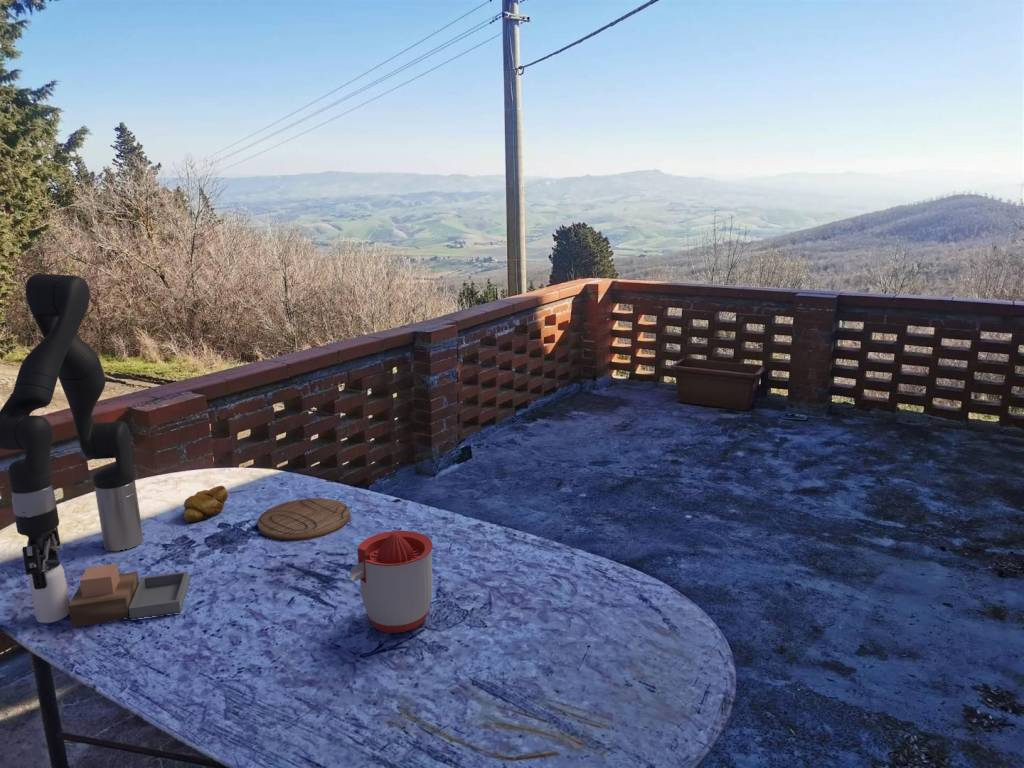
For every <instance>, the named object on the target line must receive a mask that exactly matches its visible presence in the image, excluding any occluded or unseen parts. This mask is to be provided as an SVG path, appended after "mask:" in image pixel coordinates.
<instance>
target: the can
mask: <svg viewBox="0 0 1024 768" xmlns="http://www.w3.org/2000/svg"><path fill="white" fill-rule="evenodd" d="M58 560H59V559H58ZM58 560H47V561H45V570H44V571H45V574H46V580H47V587H46V588H44V589H35V588H34V583H33V578H32V574H30V575H28V583H29V589H30V593H31V598H32V604H33V608H34V614H35V620H36V621H37V622H38V623H41V624H53V623H57V622H60V621H61V620H64V619H65V618H67V617H68V616H70V614H69V608H68V605H69V604H70V602H71V601H70V597H69V591H68V586H67V579H66V574H65V570H64V566H62V565H61V561H60V560H59V561H58ZM34 567H36V564H35V563H34Z"/></svg>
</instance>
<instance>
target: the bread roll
mask: <svg viewBox="0 0 1024 768" xmlns="http://www.w3.org/2000/svg"><path fill="white" fill-rule="evenodd" d="M228 495H229V494H228V490H227V488H226V487H225V486H224V485H219V486H218V485H217V486H215V487H212V488H210V489H209V490H208V489H204V490H201V491H197V492H196V493H195V494H194V495H190V496H189V497H187V498H186V499H185V500H184V502H183V507H184V513H183V518H184V519H185V520H186V521H187V522H191V523H192V522H194V523H195V522H199V521H202V520H204V519H205V518H210V517H214V516H216V515H218V514H220V513H221V512H222V511H223V510H224V505H225V502H226V501H227V500H228V497H229V496H228Z"/></svg>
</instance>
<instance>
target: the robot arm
mask: <svg viewBox="0 0 1024 768" xmlns="http://www.w3.org/2000/svg"><path fill="white" fill-rule="evenodd" d="M25 297H26V302H27V304H28V305H27V306H28V308H29V310H30V312H31V315H32V316H33V318H34V321H35V322H36V324H37V326H38V328H39V330H40V333H41V334H42V337H43V339H42V340H41V341H40V342H39V343H38V344H37V345H36V346H35V347H34V348H32V349H31V351H30V352H29V353H28V354H27V355H26V357H25V358H24V360H22V363H21V365H20V367H19V369H18V373H17V376H16V380H15V382H14V383H15V384H14V386H13V390H12V393H11V394H10V396H9V397H8V398H7V400H6V402H5V403H4V405H3V406H2V407H1V410H0V449H2V450H9V451H11V450H12V451H13V450H14V451H15V450H16V451H19V450H20V451H25V456H24V458H21V459H18V460H15V461H13V462H11V463H10V464H9V465H8V469H7V471H8V478H9V484H10V490H11V503H12V510H13V515H14V516H13V517H14V521H15V526H16V532H17V533H18V534H19V535H21V536H25V537H27V538H28V540H27V542H26V546H22V549H21V551H22V556H23V563H24V569H25V570H24V571H25V575H26V576H29V575H30V574H32V578H33V583H34V588H35V589H44V588H46V587H47V580H46V574H45V571H44V570H45V561H47V560H58V561H60V560H59V555H58V552H59V550H60V549H59V547H60V546H61V539H60V534H59V530H58V527H59V525H60V518H59V513H58V506H57V501H56V495H55V491H54V488H53V485H52V480H51V478H52V477H51V474H50V473H51V472H50V468H49V467H50V458H51V457H50V456H51V450H52V445H53V435H54V434H53V433H54V431H53V427H52V425H51V423H50V422H49V420H48V419H47V418H45V417H44V416H41V415H36V414H35V415H33V414H32V413H33V412H34V411H36V410H39V409H43V408H46V407H48V406H49V405H50V404H51V402H52V400H53V397H54V392H55V390H56V386H57V382H58V380H59V383H60V386H61V388H62V390H63V392H64V395H65V397H66V400H67V402H68V406H69V409H70V411H71V415H72V419H73V422H74V427H75V430H76V431H75V432H76V435H77V438H78V442H79V446H80V450H81V452H82V454H83V455H84V457H85V458H87V459H89V460H104V459H115V463H113V464H112V465H110V466H108V467H105V468H102V469H100V470H99V471H97V472H96V473H94V475H93V486H94V491H95V492H94V493H95V497H96V504H97V510H98V516H99V522H100V523H99V524H100V530H101V536H102V543H103V547H104V550H106V551H108V550H110V551H109V552H121V551H120V550H123V551H126V550H125V549H127V550H130V548H131V549H134V548H135V546H136V547H138V546H139V545H141V544H142V543H144V535H143V528H142V527H143V526H142V520H141V514H140V513H141V512H140V507H139V506H140V505H139V500H138V499H139V498H138V493H137V487H136V479H135V469H134V468H135V467H134V459H133V451H132V437H131V431H130V428H129V425H128V424H127V423H126V422H125V421H119V420H118V421H107V422H105V421H104V422H103V421H102V422H95V420H94V419H93V412H94V409H95V407H96V405H97V402H98V401H99V400H100V398H101V395H102V394H103V391H104V390H105V386H106V382H107V381H106V380H107V379H106V375H105V372H104V369H103V366H102V362H101V360H100V358H99V356H98V354H97V353H96V351H95V350H94V349H93V348H92V347H91V346H90V345H89V344H88V343H87V342H86V341H84V340H83V339H82V338H81V337H80V336H78V334H77V333H78V331H79V329H80V327H81V324H82V323H83V320H84V318H85V316H86V314H87V310H88V308H89V305H90V299H91V293H90V287H89V285H88V282H87V281H86V280H85V279H84V278H83V277H81V276H78V275H72V274H71V275H69V274H54V273H53V274H52V273H35V274H33V275H31V276H30V277H29V278H28V279H27V281H26V284H25ZM31 414H32V415H31ZM133 547H134V548H133ZM35 564H36V567H34V565H35Z"/></svg>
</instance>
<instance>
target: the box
mask: <svg viewBox="0 0 1024 768" xmlns="http://www.w3.org/2000/svg"><path fill="white" fill-rule="evenodd" d="M190 584H191V583H190V574H189V570H186V571H179V572H178V571H177V572H171V573H170V572H169V573H165V574H163V573H162V574H156V575H148V576H142V577H141V578H140V581H139V585H138V587H137V590H136V592H135V594H134V597H133V599H132V602H131V604H130V606H129V614H130V618H129V620H132V619H138V618H144V617H152V616H161V615H167V614H174V613H180V612H181V610H182V611H183V608H182V606H183V607H184V605H183V602H184V603H185V601H184V599H185V600H186V598H185V596H186V597H187V594H186V593H188V590H189V587H188V586H190ZM187 589H188V590H187ZM181 613H182V612H181Z"/></svg>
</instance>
